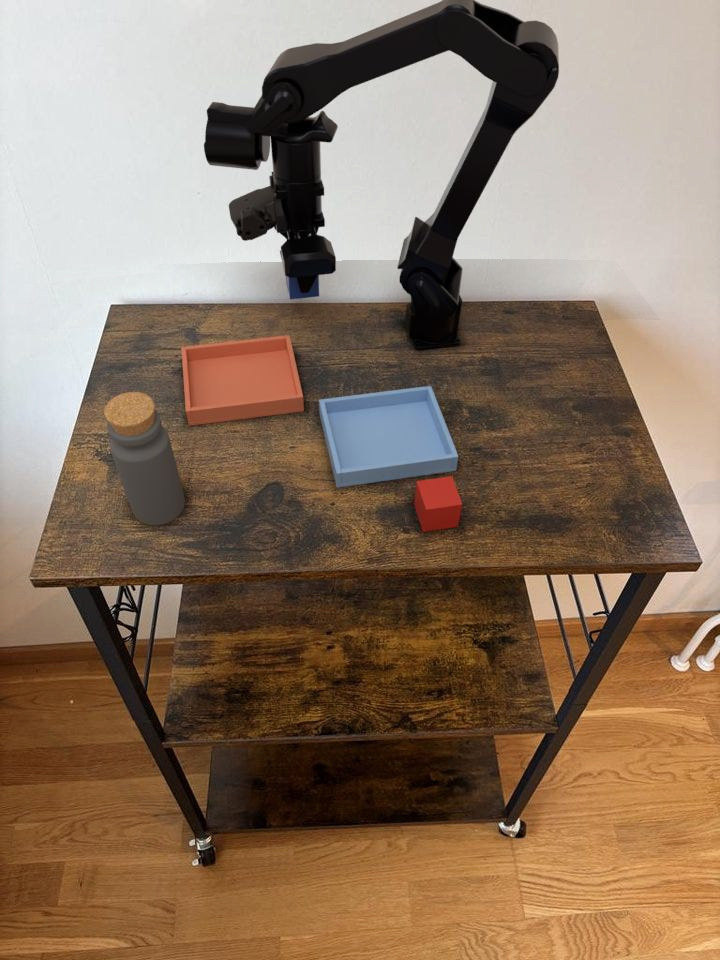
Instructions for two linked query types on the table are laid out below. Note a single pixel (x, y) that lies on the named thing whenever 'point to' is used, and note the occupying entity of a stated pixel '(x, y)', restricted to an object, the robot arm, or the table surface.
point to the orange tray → (240, 380)
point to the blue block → (295, 290)
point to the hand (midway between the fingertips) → (302, 283)
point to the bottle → (144, 459)
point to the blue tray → (386, 436)
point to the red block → (437, 503)
